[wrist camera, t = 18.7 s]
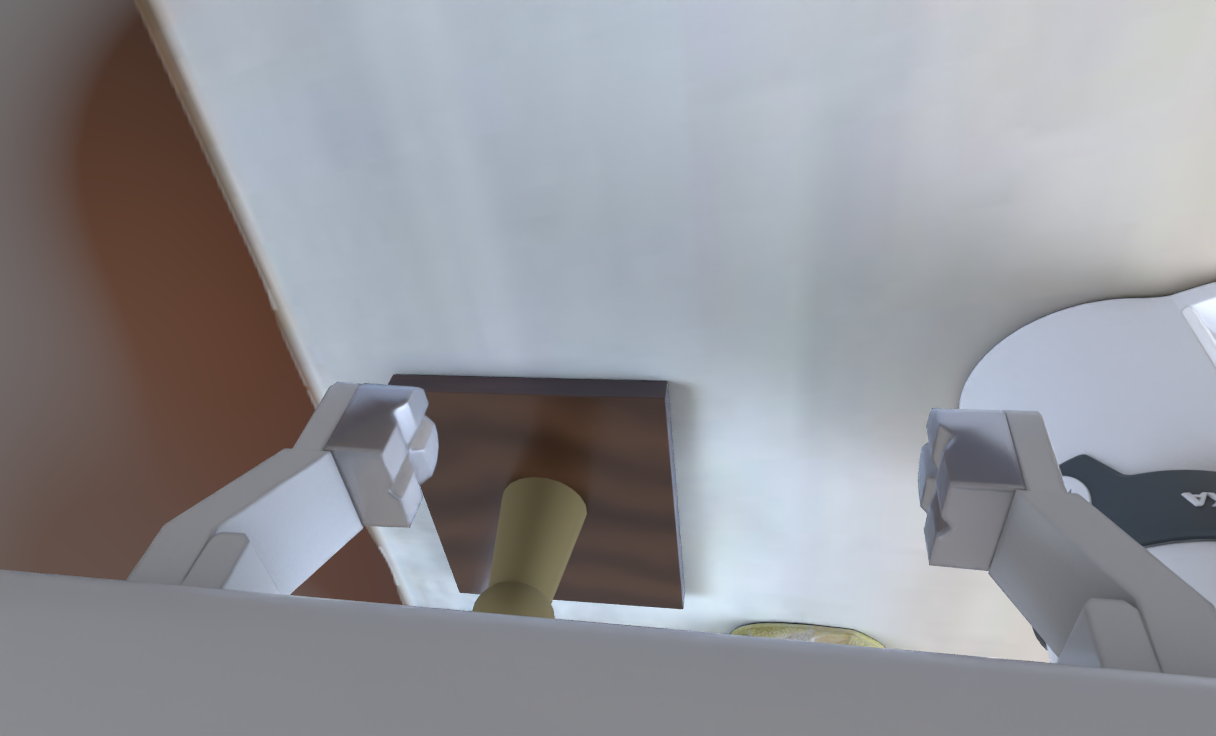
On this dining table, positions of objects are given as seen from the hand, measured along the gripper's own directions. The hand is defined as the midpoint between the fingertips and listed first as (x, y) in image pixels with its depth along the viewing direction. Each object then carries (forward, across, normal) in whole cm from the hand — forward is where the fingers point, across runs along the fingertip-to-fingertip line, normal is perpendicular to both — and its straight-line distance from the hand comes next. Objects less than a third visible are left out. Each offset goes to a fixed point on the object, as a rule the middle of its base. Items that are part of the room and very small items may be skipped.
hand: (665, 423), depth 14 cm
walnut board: (+29, +13, +36) cm, 48 cm away
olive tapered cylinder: (+28, +13, +36) cm, 47 cm away
